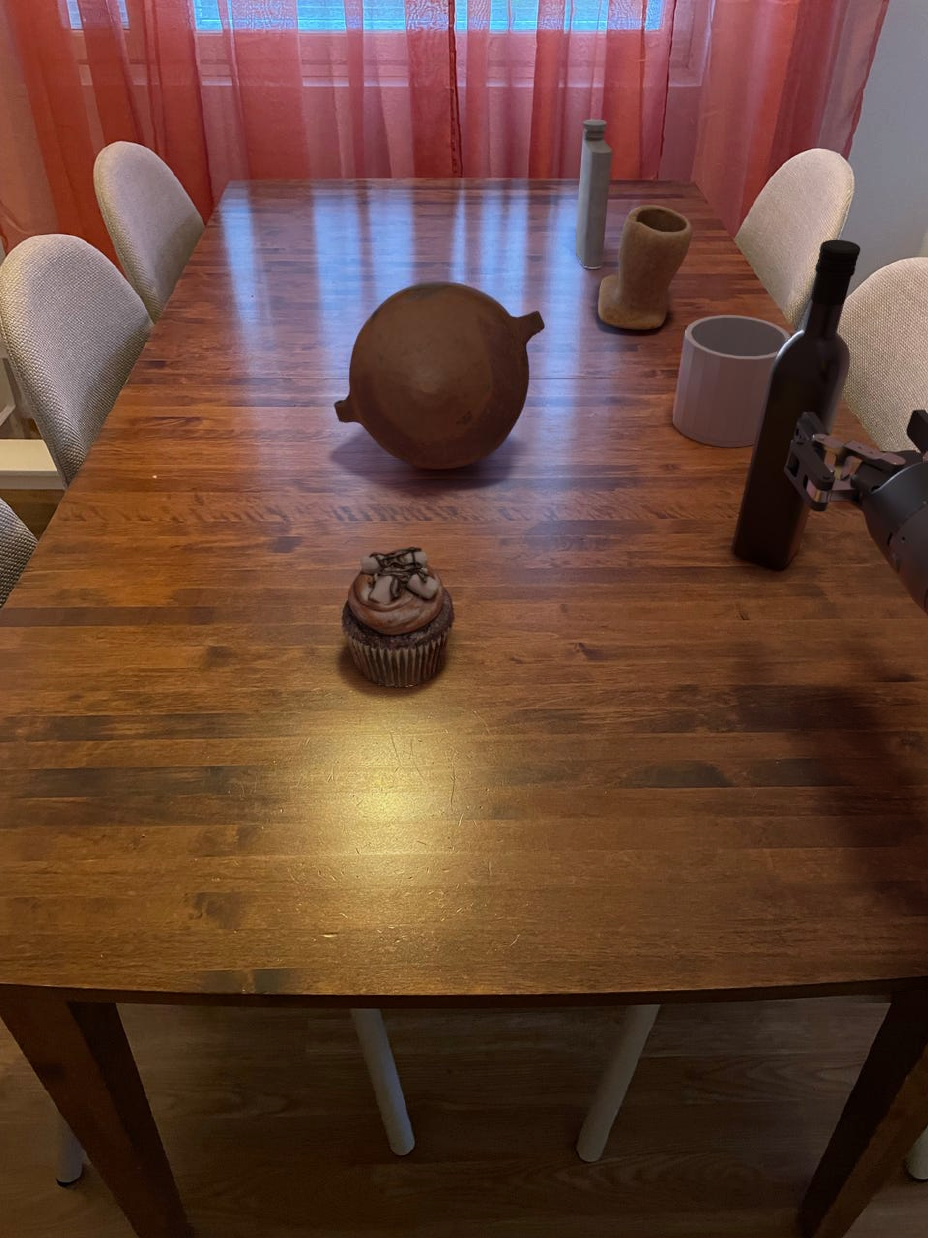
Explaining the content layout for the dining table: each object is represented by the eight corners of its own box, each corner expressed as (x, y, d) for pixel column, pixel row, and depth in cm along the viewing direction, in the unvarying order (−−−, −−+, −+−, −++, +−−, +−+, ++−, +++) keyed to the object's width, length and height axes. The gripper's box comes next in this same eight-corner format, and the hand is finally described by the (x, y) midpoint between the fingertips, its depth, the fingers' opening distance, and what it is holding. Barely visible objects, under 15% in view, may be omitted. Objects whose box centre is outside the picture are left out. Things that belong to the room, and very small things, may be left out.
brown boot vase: (678, 339, 132) (695, 229, 123) (593, 333, 134) (603, 224, 124) (678, 297, 144) (694, 194, 134) (600, 292, 145) (609, 189, 136)
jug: (489, 515, 99) (525, 423, 125) (540, 333, 89) (568, 273, 114) (306, 460, 100) (378, 380, 125) (335, 273, 90) (408, 227, 115)
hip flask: (602, 269, 153) (614, 134, 140) (577, 269, 153) (587, 134, 140) (594, 236, 165) (605, 108, 152) (571, 236, 165) (579, 108, 152)
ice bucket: (761, 400, 119) (779, 315, 112) (781, 448, 110) (803, 359, 103) (666, 399, 119) (679, 314, 112) (678, 446, 110) (693, 357, 103)
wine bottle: (748, 527, 98) (817, 228, 78) (802, 545, 95) (887, 241, 76) (726, 554, 94) (793, 248, 75) (782, 574, 92) (866, 262, 72)
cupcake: (330, 638, 85) (319, 547, 78) (430, 610, 88) (427, 520, 81) (366, 708, 78) (356, 615, 72) (473, 675, 81) (473, 583, 75)
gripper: (1084, 491, 58) (966, 374, 71) (857, 497, 58) (778, 378, 70) (1037, 587, 63) (933, 461, 76) (827, 593, 63) (757, 465, 75)
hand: (859, 421), depth 73 cm, fingers open, 8 cm apart
